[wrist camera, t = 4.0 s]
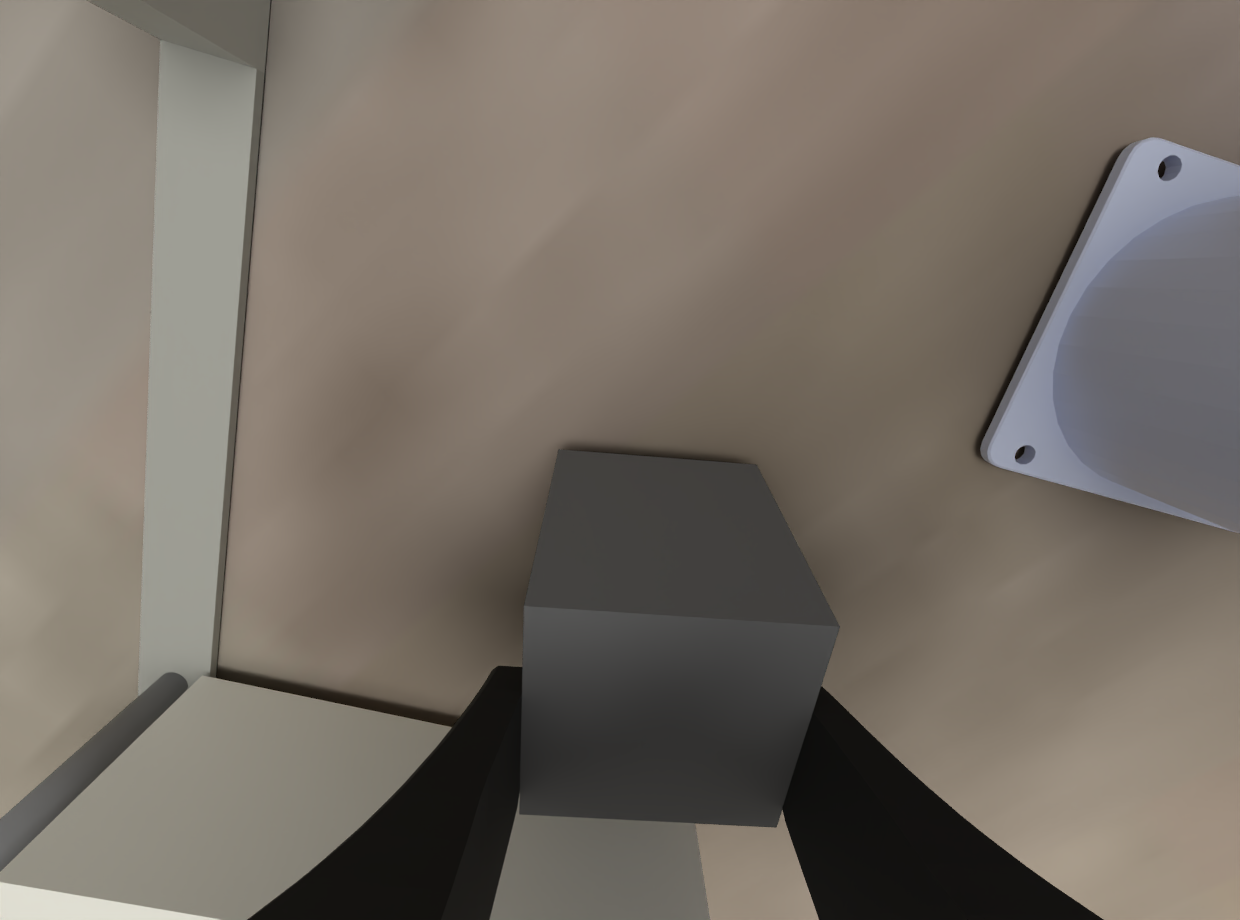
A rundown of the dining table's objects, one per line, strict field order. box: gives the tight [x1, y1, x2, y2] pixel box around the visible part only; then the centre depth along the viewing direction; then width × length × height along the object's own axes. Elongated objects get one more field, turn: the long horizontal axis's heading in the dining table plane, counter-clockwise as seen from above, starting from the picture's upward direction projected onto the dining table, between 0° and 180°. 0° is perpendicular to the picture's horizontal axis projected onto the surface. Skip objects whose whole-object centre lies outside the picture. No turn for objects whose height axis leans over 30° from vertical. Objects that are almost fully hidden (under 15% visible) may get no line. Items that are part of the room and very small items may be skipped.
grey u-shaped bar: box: [0, 0, 271, 872], centre depth 12 cm, size 2×26×7 cm, turn 165°
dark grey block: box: [519, 449, 840, 827], centre depth 13 cm, size 5×8×6 cm, turn 175°
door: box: [0, 675, 710, 920], centre depth 15 cm, size 3×15×6 cm, turn 75°
